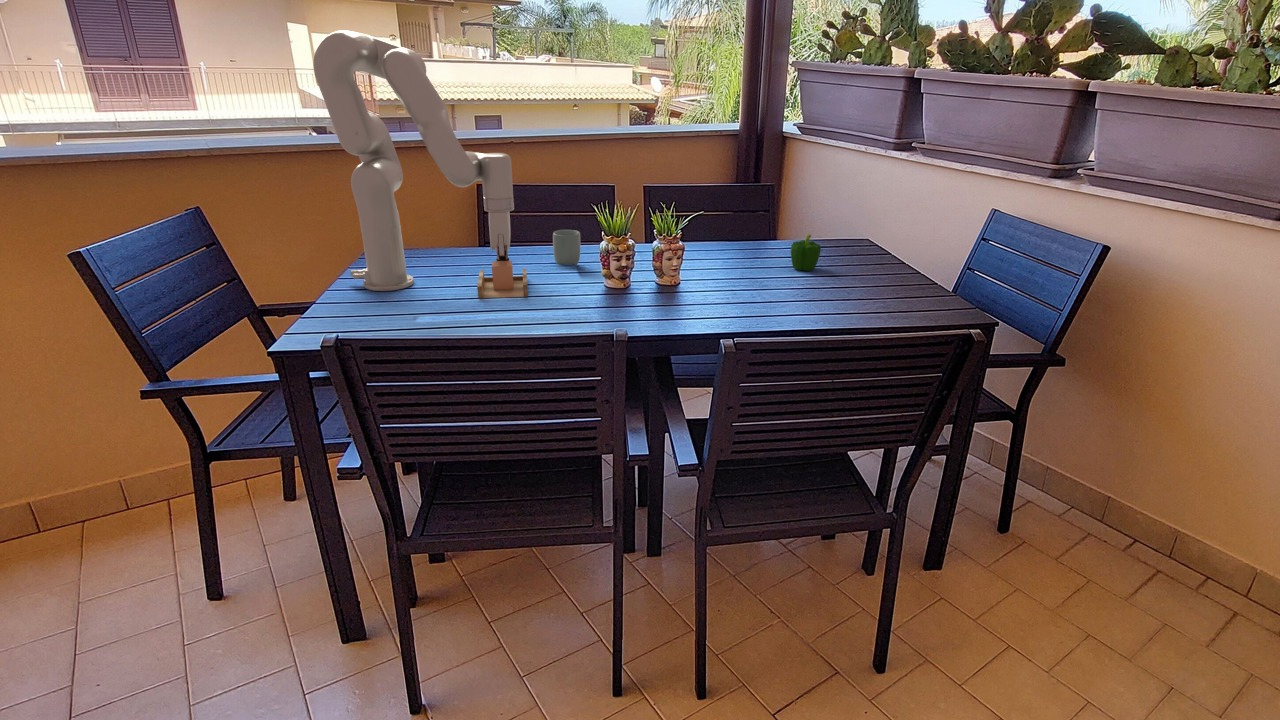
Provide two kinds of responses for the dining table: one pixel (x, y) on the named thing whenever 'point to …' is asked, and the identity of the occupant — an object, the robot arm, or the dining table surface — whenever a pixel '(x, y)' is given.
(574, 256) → the cup
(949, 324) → the dining table surface
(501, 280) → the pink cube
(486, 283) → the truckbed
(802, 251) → the bell pepper
